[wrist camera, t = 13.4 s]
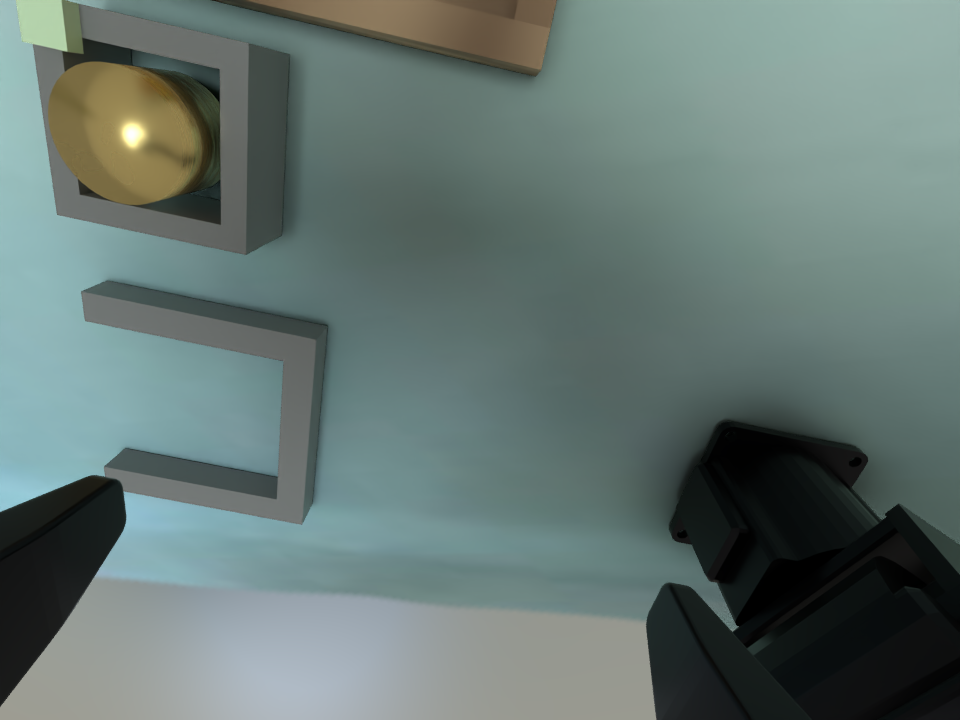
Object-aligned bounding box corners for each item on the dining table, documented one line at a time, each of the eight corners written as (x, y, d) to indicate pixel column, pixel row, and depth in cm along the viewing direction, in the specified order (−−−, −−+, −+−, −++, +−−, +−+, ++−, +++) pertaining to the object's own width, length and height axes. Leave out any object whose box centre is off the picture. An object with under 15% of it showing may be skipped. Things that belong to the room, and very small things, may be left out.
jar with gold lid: (233, 84, 16) (179, 79, 14) (233, 201, 18) (184, 216, 15) (116, 58, 16) (38, 46, 13) (126, 178, 18) (58, 189, 15)
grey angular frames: (350, 68, 17) (313, 58, 14) (312, 503, 25) (283, 561, 22) (77, 5, 17) (-26, -21, 13) (127, 468, 25) (69, 522, 21)
